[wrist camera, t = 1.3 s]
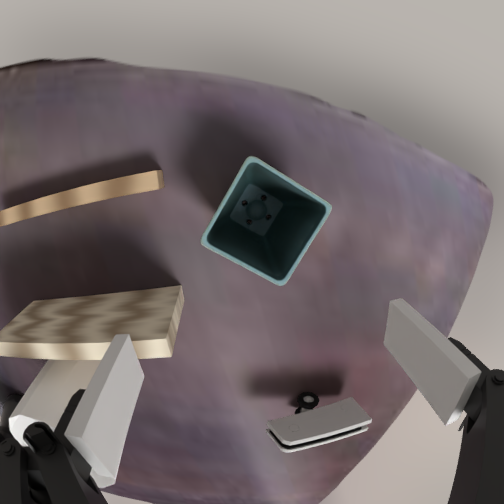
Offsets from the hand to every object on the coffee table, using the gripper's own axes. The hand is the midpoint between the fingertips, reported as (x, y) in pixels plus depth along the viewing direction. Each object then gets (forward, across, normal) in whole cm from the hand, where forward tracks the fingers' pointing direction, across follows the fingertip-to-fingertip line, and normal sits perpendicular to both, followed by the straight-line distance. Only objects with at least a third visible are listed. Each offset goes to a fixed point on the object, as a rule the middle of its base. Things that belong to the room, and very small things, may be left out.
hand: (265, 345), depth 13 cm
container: (+21, -25, -18) cm, 38 cm away
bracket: (+18, +15, -30) cm, 38 cm away
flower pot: (+22, +2, +3) cm, 22 cm away
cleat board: (+21, -20, +1) cm, 29 cm away
